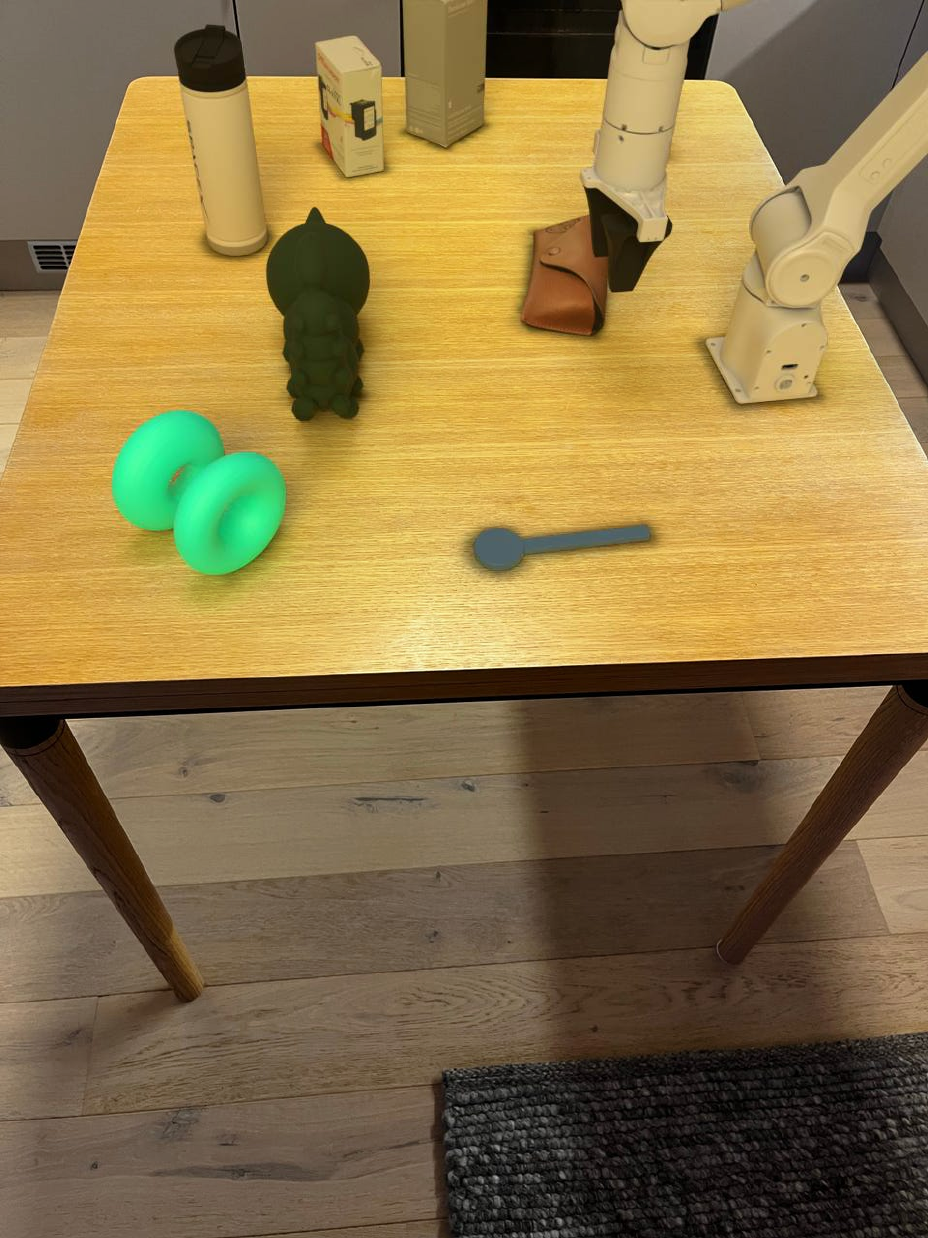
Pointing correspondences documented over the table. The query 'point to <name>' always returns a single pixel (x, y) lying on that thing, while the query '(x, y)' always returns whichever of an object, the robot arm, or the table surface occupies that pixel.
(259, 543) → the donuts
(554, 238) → the sunglasses case
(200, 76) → the travel mug
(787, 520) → the table surface
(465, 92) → the cosmetic box
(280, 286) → the toy figurine
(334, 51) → the ink box
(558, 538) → the spoon
